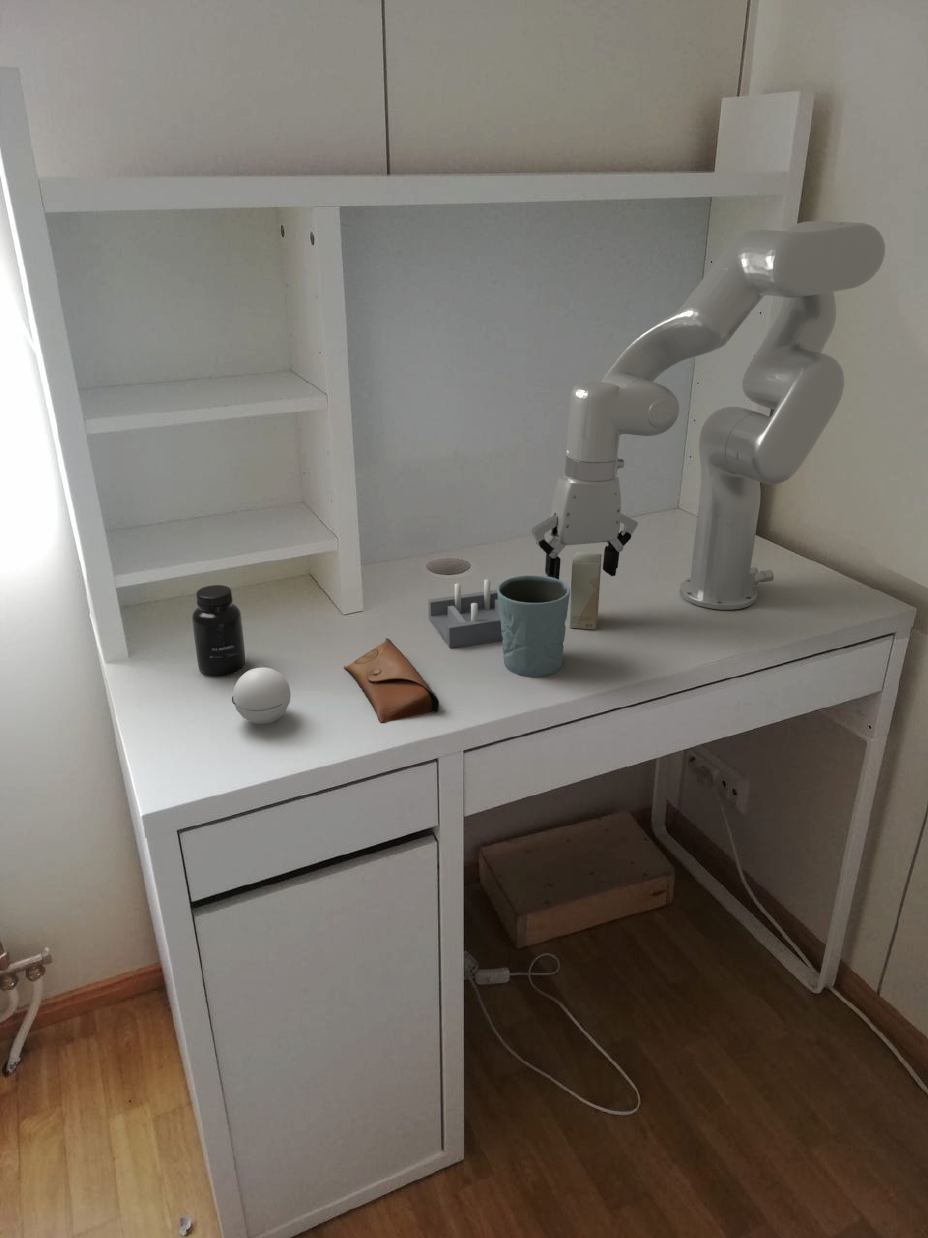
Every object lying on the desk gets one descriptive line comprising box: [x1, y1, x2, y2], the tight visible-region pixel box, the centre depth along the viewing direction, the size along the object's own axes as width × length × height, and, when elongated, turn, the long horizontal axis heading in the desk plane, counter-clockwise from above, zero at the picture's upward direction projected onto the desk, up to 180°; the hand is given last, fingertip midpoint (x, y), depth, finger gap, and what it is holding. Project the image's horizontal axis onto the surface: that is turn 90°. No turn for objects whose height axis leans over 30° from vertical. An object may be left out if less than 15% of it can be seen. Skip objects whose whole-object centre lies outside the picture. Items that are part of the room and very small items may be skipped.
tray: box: [427, 578, 503, 649], centre depth 143 cm, size 14×11×6 cm
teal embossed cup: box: [496, 574, 571, 678], centre depth 130 cm, size 10×10×12 cm
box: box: [569, 551, 602, 630], centre depth 143 cm, size 5×4×11 cm
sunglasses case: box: [343, 637, 440, 724], centre depth 126 cm, size 18×7×7 cm
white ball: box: [231, 667, 292, 725], centre depth 117 cm, size 10×7×7 cm
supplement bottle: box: [191, 584, 247, 677], centre depth 130 cm, size 7×7×12 cm
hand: (581, 576), depth 142 cm, fingers open, 9 cm apart
